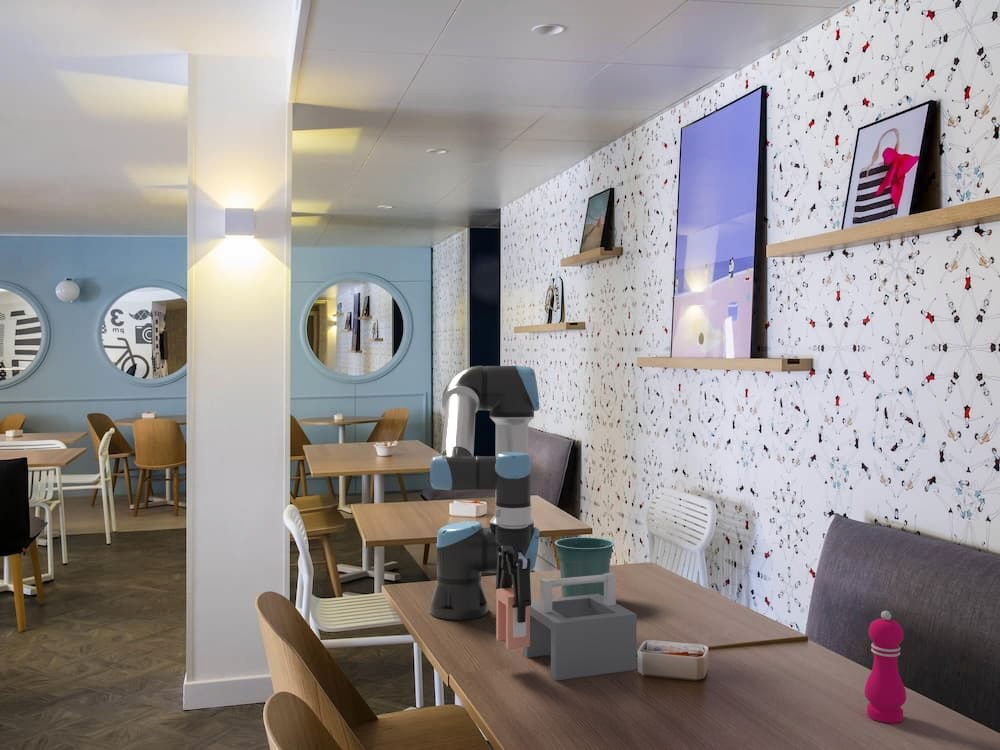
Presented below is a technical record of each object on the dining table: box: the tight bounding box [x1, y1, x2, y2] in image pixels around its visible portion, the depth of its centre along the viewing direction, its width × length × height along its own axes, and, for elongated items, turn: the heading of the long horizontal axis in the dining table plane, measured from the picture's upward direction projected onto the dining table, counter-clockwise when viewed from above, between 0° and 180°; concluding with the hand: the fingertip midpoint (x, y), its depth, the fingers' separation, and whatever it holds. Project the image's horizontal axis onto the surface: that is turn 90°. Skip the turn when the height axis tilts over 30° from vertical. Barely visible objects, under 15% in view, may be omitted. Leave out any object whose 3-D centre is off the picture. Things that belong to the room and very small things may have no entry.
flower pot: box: [554, 536, 615, 597], centre depth 252 cm, size 16×16×16 cm
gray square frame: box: [522, 572, 638, 682], centre depth 202 cm, size 18×19×19 cm
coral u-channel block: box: [495, 587, 530, 650], centre depth 197 cm, size 7×5×11 cm
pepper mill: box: [864, 610, 907, 724], centre depth 171 cm, size 7×7×20 cm
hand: (512, 630), depth 197 cm, fingers closed on coral u-channel block, 7 cm apart
